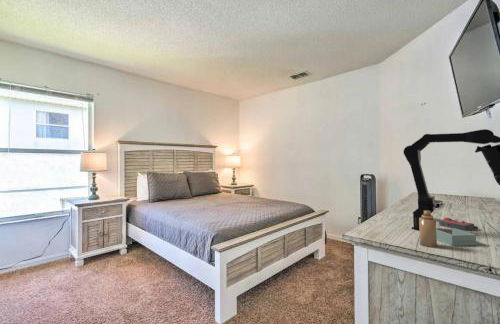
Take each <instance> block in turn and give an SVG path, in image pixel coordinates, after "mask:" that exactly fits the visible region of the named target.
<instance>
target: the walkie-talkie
mask: <svg viewBox="0 0 500 324" xmlns="http://www.w3.org/2000/svg"><path fill="white" fill-rule="evenodd" d="M433 218H434V219H436V222H438V224H439V226H440V227H445V228H451V229H452V228H455V229H459V230H462V231H465V232H469V231H474V230H477V229H479V227H478V226H476V225H475V223H473V222H472V223H471V222H466V221H465V219H464V220H460V219H459V218H456V217H451V216H450V217H449V216H447V217H444V218H443V219H440V218H436V217H433Z"/></svg>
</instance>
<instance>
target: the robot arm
mask: <svg viewBox="0 0 500 324" xmlns="http://www.w3.org/2000/svg"><path fill="white" fill-rule="evenodd" d="M431 143H470V144H478V146H476V149H475V150H474V153H476V154H477V153H479V152H481V153H482V155H483V157H484V159H485V161H486V163H487V165H488V167H489V168H490V171H491V172H492V174H493V178H494V179H495V181H496V183H497V184H498V185H499V186H500V136H497V135H496V134H495V133H494V132H493V131H492V130H491V129H485V128H484V129H479V130H472V131H467V132H458V133H434V134H432V133H425V134H424V135H423V136H421V137H420V138H419V139H418V140H416V141H414V142H413V143H412V144H411V145H407V146H406V147H404V149H403V155H404V157H405V159H406V160H407V162H408V164H409V165H410V169H411V174H412V176H413V177H412V178H413V180H414V184H415V188H416V191H417V208H416V209H415V210H414V211H412V218H413V219H412V221H413V226H411V229H413V230H417V231H420V229H419V218H420V217H422V215H424V210H428V211H431V214H433V212H434V211H435V210H436V207H437V206H438V204H437V203H436V198H435V195H434V196H431V195H430V193H429V191H428V186H427V183H426V180H425V175H424V171H423V168H422V165H421V164H422V163H421V162H422V154H421V152H422V151H423V150H424V149H425V148H426V147H428V145H429V144H431ZM490 143H491V144H490ZM492 144H495V145H492ZM479 145H483V146H479Z"/></svg>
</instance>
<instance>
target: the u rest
mask: <svg viewBox="0 0 500 324" xmlns="http://www.w3.org/2000/svg"><path fill="white" fill-rule="evenodd" d="M436 232H437V241H439V242H442V243H444V244H445V245H446V244H447V245H449V246H451V247H458V246H460V247H461V246H464V247H465V246H480V243H479V241H478V240H477V234H475V233H471V232H469V231H464V230H459V229H455V228H451V233H449V232H445V231H443V230H440V229H437V228H436Z"/></svg>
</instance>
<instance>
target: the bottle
mask: <svg viewBox="0 0 500 324" xmlns="http://www.w3.org/2000/svg"><path fill="white" fill-rule="evenodd" d="M434 218H435V217H434V215H432V213H431V211H428V210H424V215H422V217H420V218H419V229H420V230H419V245H420V246H422V247H425V248H437V247H438V240H437V232H436V229H437V221H436V219H437V218H436V219H434Z"/></svg>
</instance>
